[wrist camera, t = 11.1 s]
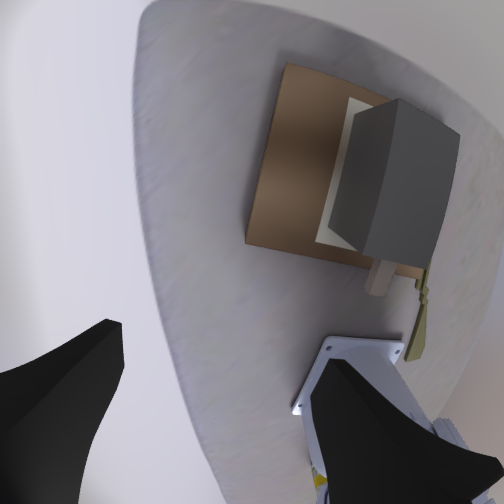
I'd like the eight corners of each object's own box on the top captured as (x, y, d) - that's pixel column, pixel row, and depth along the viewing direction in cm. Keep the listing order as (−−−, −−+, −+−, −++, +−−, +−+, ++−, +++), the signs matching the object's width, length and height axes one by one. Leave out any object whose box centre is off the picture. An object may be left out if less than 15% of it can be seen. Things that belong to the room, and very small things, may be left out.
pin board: (411, 273, 18) (438, 294, 15) (244, 238, 17) (245, 259, 13) (446, 137, 15) (480, 138, 11) (283, 69, 14) (295, 45, 10)
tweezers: (418, 352, 22) (422, 358, 21) (401, 358, 22) (405, 364, 21) (433, 232, 18) (440, 236, 17) (414, 236, 18) (421, 240, 17)
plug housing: (372, 269, 16) (412, 306, 12) (318, 258, 16) (347, 296, 11) (408, 137, 14) (460, 135, 9) (354, 114, 13) (398, 98, 9)
